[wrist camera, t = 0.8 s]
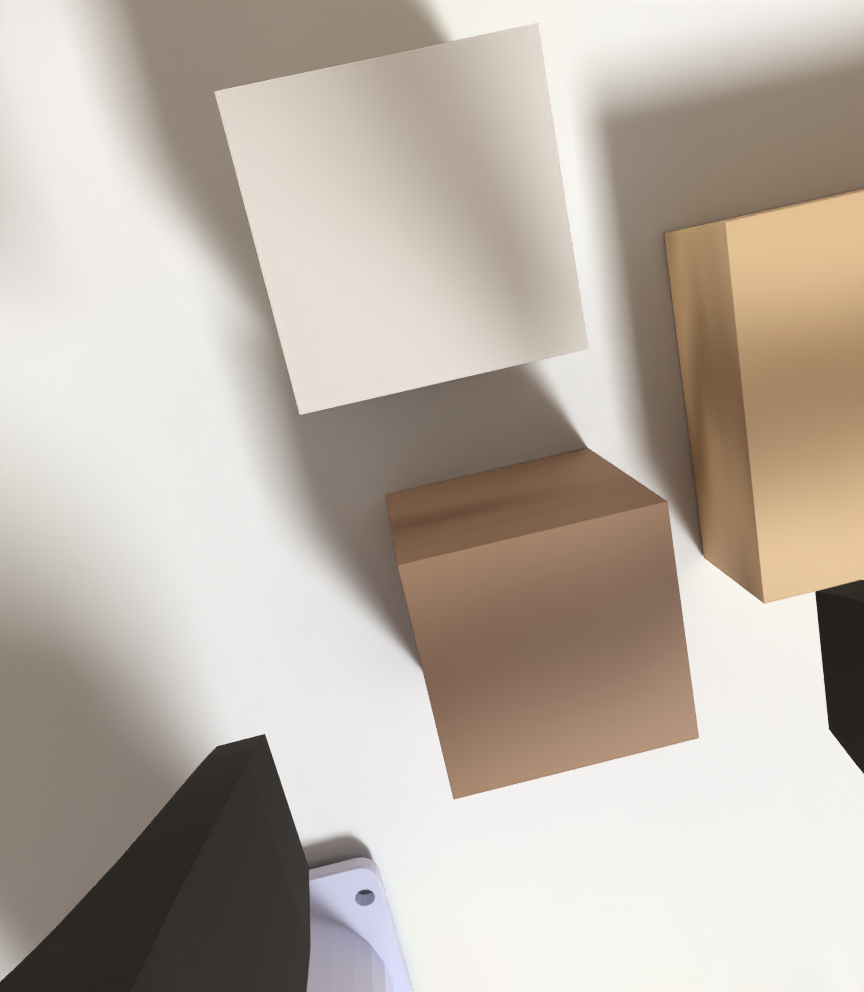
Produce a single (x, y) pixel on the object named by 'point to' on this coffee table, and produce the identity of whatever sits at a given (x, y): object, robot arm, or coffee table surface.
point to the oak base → (776, 391)
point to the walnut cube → (544, 618)
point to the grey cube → (409, 216)
